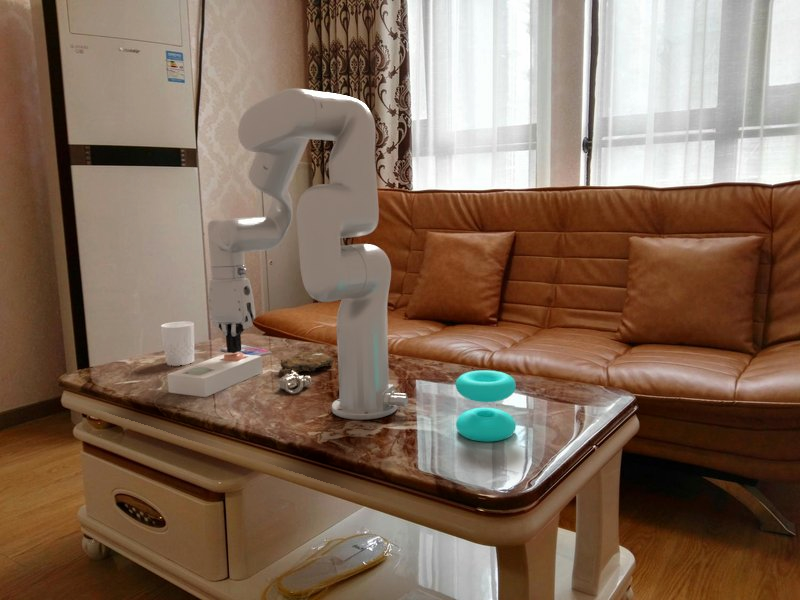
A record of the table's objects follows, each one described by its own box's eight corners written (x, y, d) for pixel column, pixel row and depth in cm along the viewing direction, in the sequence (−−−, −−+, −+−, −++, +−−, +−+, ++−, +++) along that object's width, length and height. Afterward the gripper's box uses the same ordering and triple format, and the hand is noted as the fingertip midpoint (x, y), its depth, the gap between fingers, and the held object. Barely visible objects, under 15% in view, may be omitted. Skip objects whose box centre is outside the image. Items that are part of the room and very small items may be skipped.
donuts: (448, 370, 109) (502, 366, 111) (449, 425, 110) (502, 420, 112) (466, 387, 99) (525, 381, 101) (466, 447, 101) (525, 440, 103)
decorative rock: (311, 382, 141) (340, 367, 155) (311, 364, 141) (340, 351, 154) (267, 375, 145) (299, 362, 159) (267, 358, 144) (300, 346, 158)
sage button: (214, 385, 137) (213, 368, 136) (200, 391, 133) (199, 373, 132) (198, 384, 138) (197, 366, 138) (184, 389, 134) (183, 371, 134)
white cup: (190, 366, 155) (187, 327, 154) (159, 367, 156) (155, 327, 154) (200, 358, 163) (198, 321, 162) (171, 359, 163) (167, 321, 162)
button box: (262, 372, 148) (261, 355, 148) (205, 397, 130) (204, 378, 129) (228, 368, 152) (227, 352, 151) (168, 392, 134) (167, 374, 133)
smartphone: (242, 343, 177) (273, 351, 167) (242, 347, 177) (273, 355, 167) (219, 348, 172) (249, 356, 162) (219, 351, 172) (249, 360, 162)
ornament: (315, 393, 132) (314, 376, 131) (282, 397, 130) (281, 380, 129) (308, 383, 139) (307, 367, 139) (277, 386, 137) (276, 370, 137)
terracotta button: (248, 369, 147) (247, 352, 147) (236, 374, 143) (235, 357, 143) (233, 367, 149) (232, 351, 149) (221, 372, 145) (219, 355, 145)
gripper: (265, 272, 143) (270, 350, 146) (213, 271, 149) (219, 346, 152) (245, 275, 136) (250, 357, 139) (191, 275, 142) (197, 353, 145)
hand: (234, 351), depth 145 cm, fingers closed
